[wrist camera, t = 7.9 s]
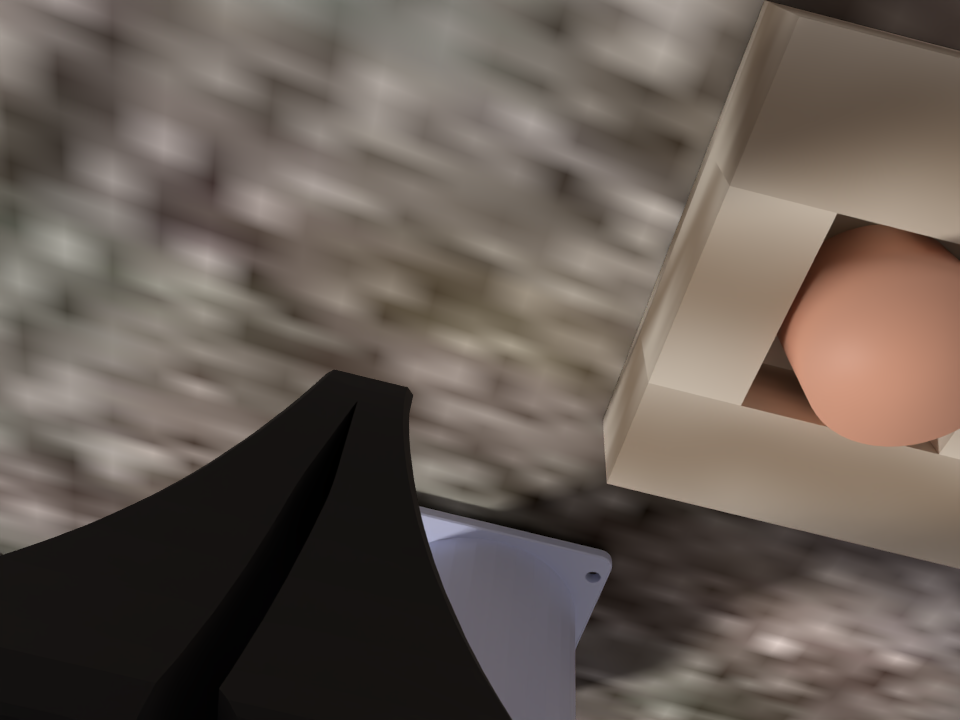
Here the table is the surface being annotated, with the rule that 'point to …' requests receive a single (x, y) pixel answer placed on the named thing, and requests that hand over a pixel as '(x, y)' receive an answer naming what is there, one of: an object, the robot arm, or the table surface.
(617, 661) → the table surface
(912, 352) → the terracotta button
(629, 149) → the table surface
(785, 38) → the button panel
